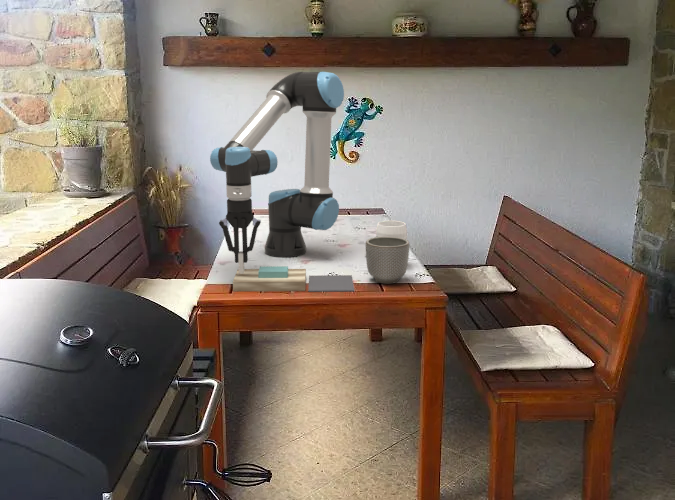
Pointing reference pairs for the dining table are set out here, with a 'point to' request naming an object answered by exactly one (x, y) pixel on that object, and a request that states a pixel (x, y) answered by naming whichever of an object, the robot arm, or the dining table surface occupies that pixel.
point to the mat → (331, 283)
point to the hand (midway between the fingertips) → (241, 272)
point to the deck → (269, 281)
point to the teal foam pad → (273, 272)
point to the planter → (387, 258)
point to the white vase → (391, 229)
